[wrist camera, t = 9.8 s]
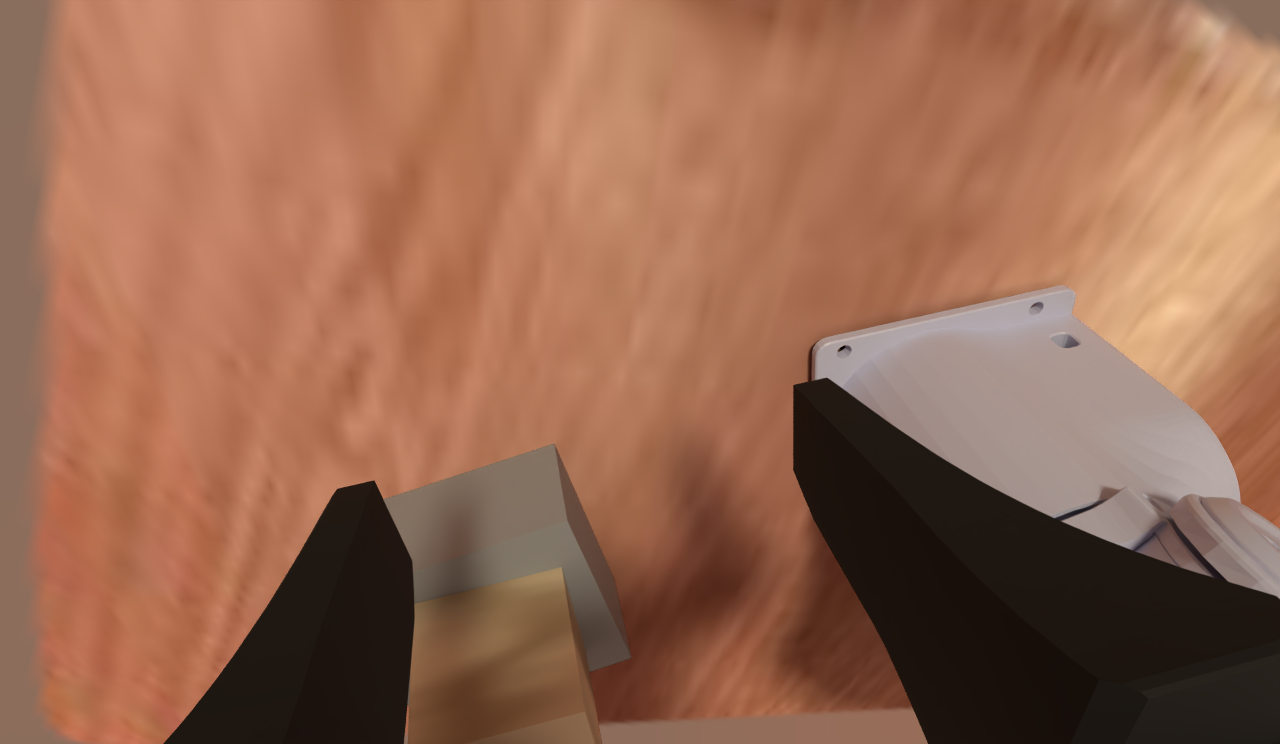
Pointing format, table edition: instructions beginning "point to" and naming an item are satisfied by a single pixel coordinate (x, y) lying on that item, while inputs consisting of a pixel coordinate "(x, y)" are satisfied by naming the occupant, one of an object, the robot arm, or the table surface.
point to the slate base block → (512, 541)
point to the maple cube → (501, 667)
